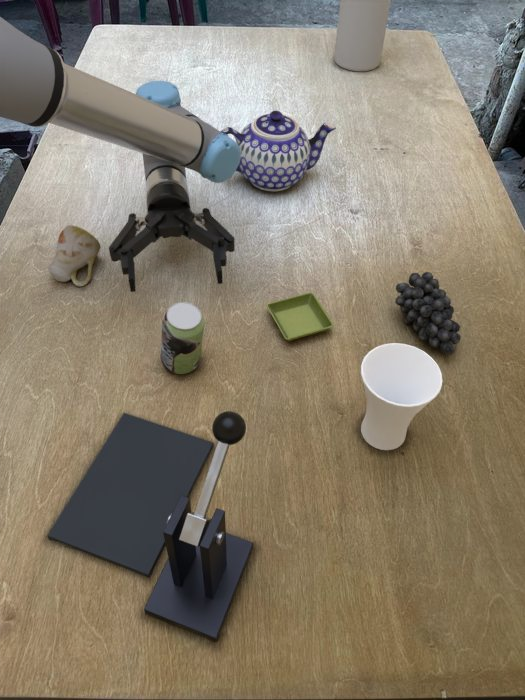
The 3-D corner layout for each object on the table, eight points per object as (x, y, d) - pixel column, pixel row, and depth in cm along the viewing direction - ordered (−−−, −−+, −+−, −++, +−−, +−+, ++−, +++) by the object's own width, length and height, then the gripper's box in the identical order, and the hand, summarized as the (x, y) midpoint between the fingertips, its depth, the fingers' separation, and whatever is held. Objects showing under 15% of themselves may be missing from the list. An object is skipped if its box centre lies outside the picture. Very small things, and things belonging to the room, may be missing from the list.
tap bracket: (187, 523, 80) (179, 459, 68) (253, 547, 78) (256, 486, 66) (145, 613, 73) (127, 559, 61) (216, 642, 71) (212, 592, 59)
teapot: (216, 202, 125) (214, 135, 114) (210, 161, 135) (207, 95, 123) (338, 195, 128) (347, 129, 117) (323, 155, 137) (331, 90, 126)
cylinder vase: (389, 62, 168) (408, -43, 149) (360, 77, 162) (377, -30, 143) (352, 47, 174) (366, -56, 155) (324, 61, 168) (335, -44, 149)
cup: (421, 409, 93) (444, 350, 83) (417, 470, 86) (441, 414, 76) (352, 396, 94) (365, 336, 84) (342, 454, 88) (355, 396, 77)
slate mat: (48, 538, 78) (47, 535, 78) (124, 415, 91) (123, 412, 90) (149, 577, 76) (148, 574, 75) (213, 445, 88) (213, 442, 87)
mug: (39, 284, 108) (34, 226, 105) (80, 275, 116) (77, 221, 113) (70, 290, 105) (66, 230, 102) (110, 280, 113) (108, 225, 110)
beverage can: (174, 342, 100) (168, 288, 91) (214, 358, 98) (212, 305, 89) (153, 369, 97) (144, 315, 87) (194, 387, 95) (190, 333, 86)
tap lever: (222, 409, 69) (215, 404, 66) (252, 418, 68) (247, 415, 65) (179, 535, 67) (170, 537, 63) (210, 546, 66) (202, 549, 63)
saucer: (264, 312, 105) (265, 303, 104) (311, 299, 108) (312, 290, 106) (285, 348, 100) (285, 340, 99) (333, 334, 102) (335, 326, 101)
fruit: (476, 323, 92) (432, 256, 102) (424, 344, 93) (384, 276, 102) (476, 354, 99) (435, 289, 108) (427, 374, 100) (390, 307, 109)
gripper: (237, 211, 115) (255, 291, 101) (99, 222, 112) (98, 305, 98) (237, 176, 109) (256, 256, 96) (92, 186, 106) (89, 270, 92)
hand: (176, 281), depth 97 cm, fingers open, 13 cm apart
